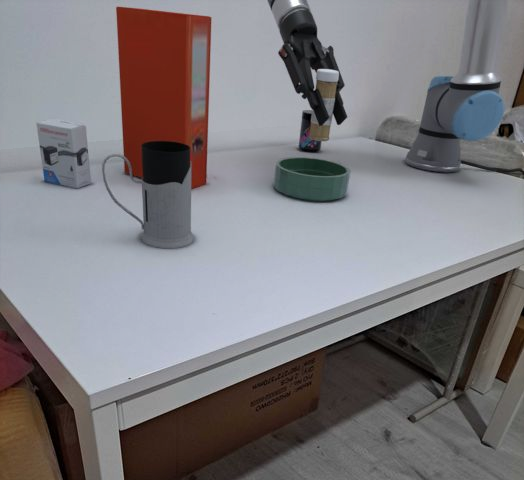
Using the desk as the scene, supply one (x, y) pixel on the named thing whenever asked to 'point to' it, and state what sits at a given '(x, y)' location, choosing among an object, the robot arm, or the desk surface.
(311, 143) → the supplement container
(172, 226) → the glass holder
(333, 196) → the bowl
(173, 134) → the file binder
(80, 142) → the ink box
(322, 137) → the sprinkles bottle
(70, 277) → the desk surface
